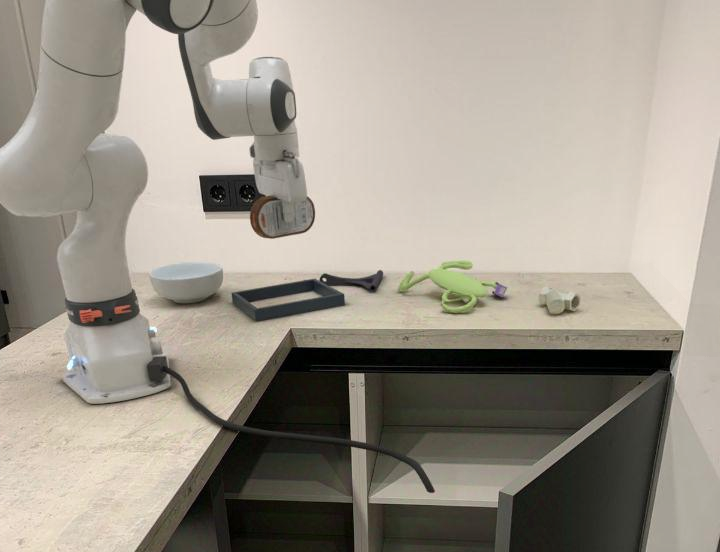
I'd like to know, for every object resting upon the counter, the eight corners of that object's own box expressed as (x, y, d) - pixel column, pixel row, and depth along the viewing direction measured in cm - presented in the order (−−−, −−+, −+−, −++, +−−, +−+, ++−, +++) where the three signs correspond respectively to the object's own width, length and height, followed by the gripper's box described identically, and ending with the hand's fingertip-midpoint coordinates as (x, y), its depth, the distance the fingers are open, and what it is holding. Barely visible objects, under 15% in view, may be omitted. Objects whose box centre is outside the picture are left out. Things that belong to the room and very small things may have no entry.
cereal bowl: (174, 313, 165) (168, 282, 162) (142, 300, 176) (137, 270, 173) (239, 297, 174) (235, 267, 171) (205, 286, 185) (200, 257, 182)
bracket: (325, 277, 187) (324, 266, 185) (383, 276, 185) (382, 265, 183) (314, 293, 174) (313, 281, 173) (376, 292, 172) (376, 280, 171)
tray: (345, 304, 164) (344, 293, 163) (255, 321, 157) (254, 309, 156) (315, 288, 178) (315, 278, 177) (232, 303, 170) (231, 292, 169)
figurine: (457, 277, 180) (458, 254, 177) (524, 301, 159) (526, 276, 156) (391, 289, 173) (390, 265, 171) (452, 316, 152) (452, 289, 150)
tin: (311, 230, 162) (307, 189, 158) (319, 230, 160) (315, 189, 156) (252, 241, 155) (245, 199, 151) (259, 242, 152) (253, 199, 148)
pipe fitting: (559, 319, 149) (580, 309, 152) (560, 300, 147) (581, 290, 150) (528, 311, 154) (548, 302, 157) (528, 293, 152) (549, 284, 155)
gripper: (311, 150, 142) (317, 225, 149) (273, 145, 158) (280, 212, 165) (281, 154, 140) (288, 229, 146) (246, 148, 156) (254, 216, 163)
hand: (284, 220), depth 156 cm, fingers closed on tin, 3 cm apart
